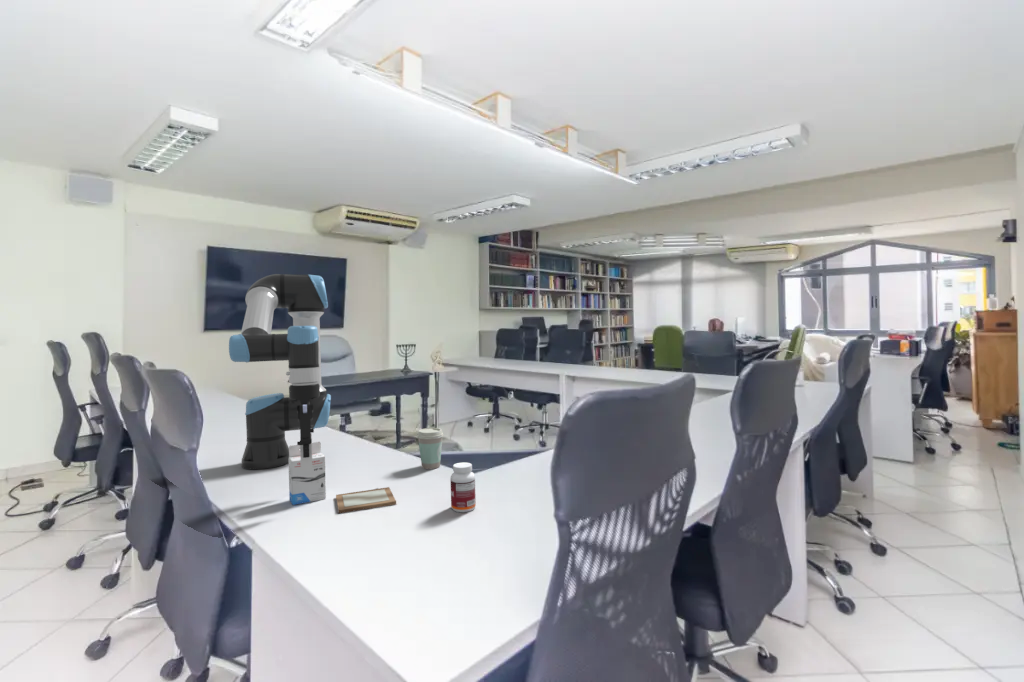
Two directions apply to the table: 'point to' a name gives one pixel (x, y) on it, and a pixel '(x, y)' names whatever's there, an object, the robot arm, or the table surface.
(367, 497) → the board
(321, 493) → the ink box
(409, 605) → the table surface
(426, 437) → the coffee cup
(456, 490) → the pill bottle
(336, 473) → the table surface
